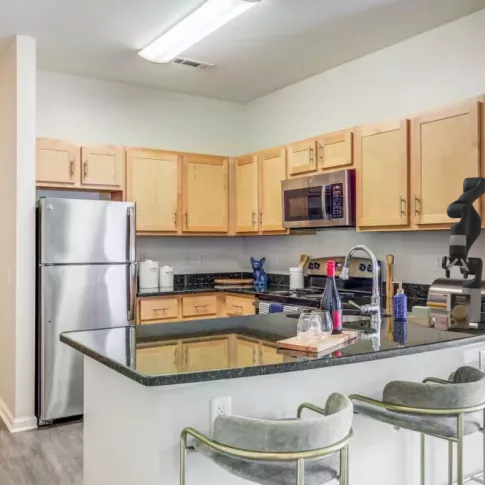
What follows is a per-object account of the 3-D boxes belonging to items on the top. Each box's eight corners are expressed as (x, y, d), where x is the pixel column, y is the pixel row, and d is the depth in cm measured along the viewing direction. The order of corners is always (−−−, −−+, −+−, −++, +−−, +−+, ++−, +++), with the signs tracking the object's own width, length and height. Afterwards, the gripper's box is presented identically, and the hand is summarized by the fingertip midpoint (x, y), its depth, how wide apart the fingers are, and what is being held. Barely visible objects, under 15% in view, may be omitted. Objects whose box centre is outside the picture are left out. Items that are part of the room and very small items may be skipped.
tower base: (413, 324, 263) (414, 314, 263) (432, 326, 258) (432, 316, 258) (408, 325, 255) (408, 316, 255) (427, 328, 250) (427, 318, 250)
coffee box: (449, 327, 252) (450, 293, 252) (445, 325, 258) (446, 292, 258) (469, 329, 251) (470, 294, 251) (465, 327, 257) (466, 293, 257)
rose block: (437, 328, 249) (437, 315, 249) (448, 329, 246) (448, 316, 246) (434, 329, 245) (434, 316, 245) (445, 330, 242) (446, 317, 242)
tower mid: (415, 315, 262) (415, 305, 262) (430, 316, 258) (430, 307, 258) (411, 316, 256) (412, 307, 256) (426, 318, 252) (427, 308, 252)
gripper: (467, 246, 264) (466, 279, 263) (439, 244, 263) (438, 277, 262) (475, 245, 256) (474, 279, 255) (447, 243, 255) (446, 277, 254)
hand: (456, 278), depth 258 cm, fingers open, 8 cm apart
